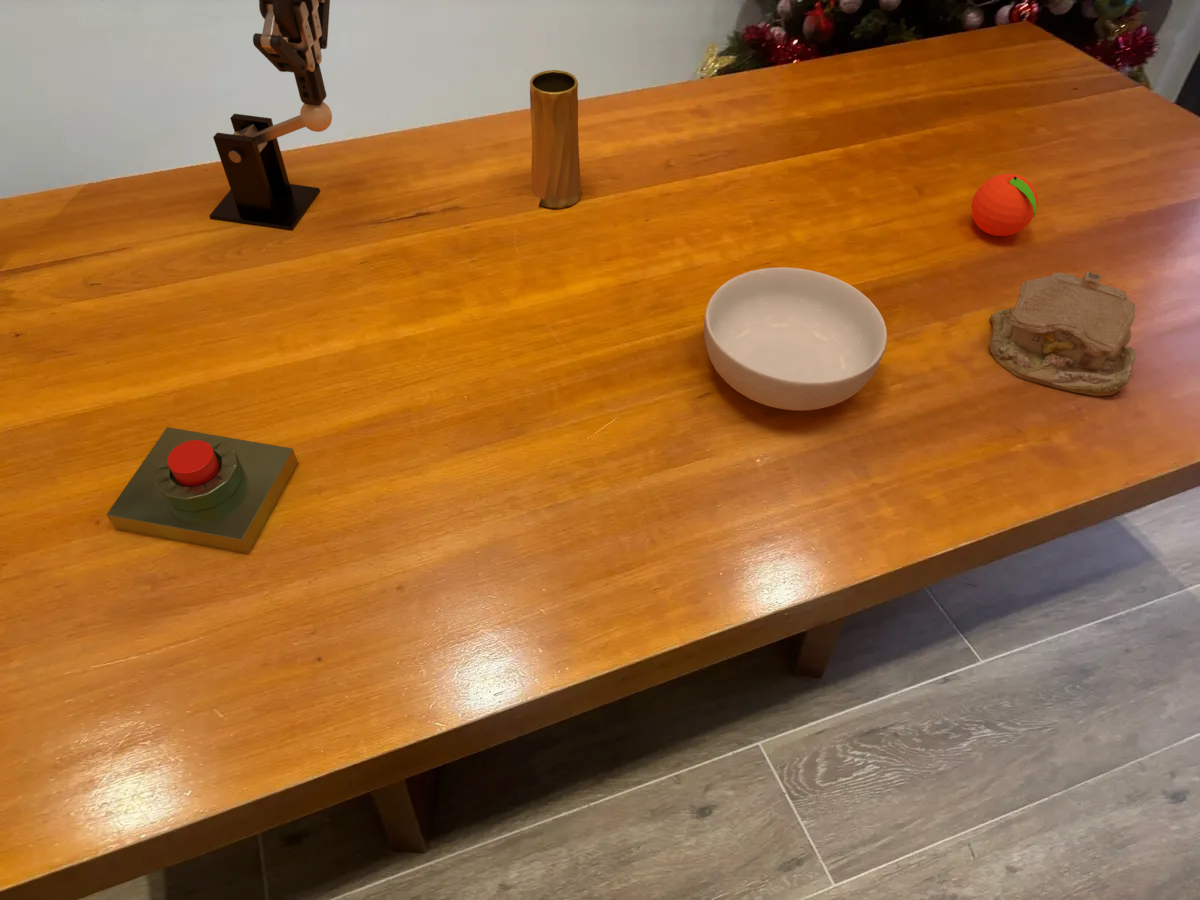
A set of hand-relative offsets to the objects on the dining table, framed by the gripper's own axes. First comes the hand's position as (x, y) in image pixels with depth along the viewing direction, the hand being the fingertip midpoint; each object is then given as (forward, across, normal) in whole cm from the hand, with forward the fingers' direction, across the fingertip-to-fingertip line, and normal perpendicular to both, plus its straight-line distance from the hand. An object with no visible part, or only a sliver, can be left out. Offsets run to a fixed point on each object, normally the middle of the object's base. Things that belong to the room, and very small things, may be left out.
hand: (314, 101), depth 93 cm
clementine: (+16, -15, +75) cm, 78 cm away
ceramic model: (+16, +5, +79) cm, 80 cm away
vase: (+15, -11, +23) cm, 30 cm away
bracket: (+15, 0, -9) cm, 18 cm away
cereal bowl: (+16, +14, +52) cm, 56 cm away
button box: (+15, +40, +4) cm, 43 cm away
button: (+11, +40, +4) cm, 42 cm away
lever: (+5, 0, -4) cm, 6 cm away
